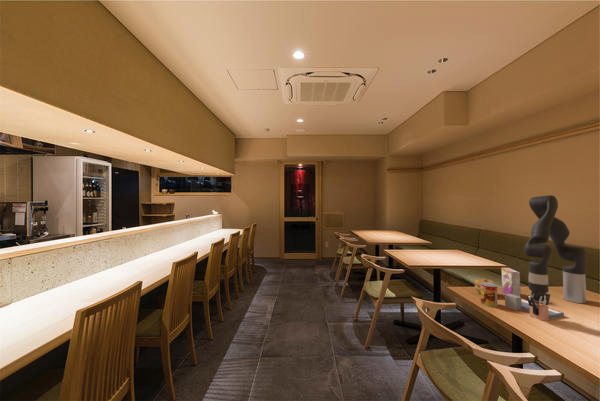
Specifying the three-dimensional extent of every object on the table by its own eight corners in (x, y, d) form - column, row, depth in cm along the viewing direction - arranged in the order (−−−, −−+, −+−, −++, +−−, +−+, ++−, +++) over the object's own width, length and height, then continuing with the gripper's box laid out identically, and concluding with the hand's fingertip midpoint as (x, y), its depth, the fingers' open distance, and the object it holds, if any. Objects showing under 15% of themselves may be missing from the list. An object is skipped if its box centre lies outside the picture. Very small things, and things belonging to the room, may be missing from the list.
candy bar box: (501, 291, 166) (500, 267, 166) (509, 291, 165) (509, 267, 165) (512, 297, 155) (511, 272, 155) (521, 298, 154) (520, 272, 154)
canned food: (480, 300, 152) (479, 281, 152) (496, 303, 148) (495, 283, 148) (481, 305, 145) (481, 285, 145) (498, 308, 141) (498, 287, 141)
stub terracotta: (535, 314, 132) (534, 301, 132) (548, 319, 126) (548, 306, 126) (529, 315, 131) (529, 302, 131) (543, 320, 125) (542, 307, 125)
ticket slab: (521, 301, 149) (521, 298, 149) (564, 316, 129) (564, 312, 129) (506, 304, 146) (506, 300, 146) (548, 319, 126) (548, 315, 126)
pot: (477, 295, 159) (477, 280, 159) (472, 289, 170) (472, 275, 170) (499, 298, 155) (499, 282, 155) (493, 291, 165) (492, 277, 165)
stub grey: (510, 305, 144) (509, 293, 144) (521, 309, 138) (521, 297, 138) (505, 306, 143) (504, 294, 143) (516, 310, 137) (516, 298, 137)
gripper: (539, 278, 134) (539, 309, 134) (520, 280, 130) (520, 312, 130) (556, 282, 127) (557, 315, 127) (537, 285, 123) (537, 319, 123)
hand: (538, 313), depth 128 cm, fingers closed on stub terracotta, 4 cm apart
